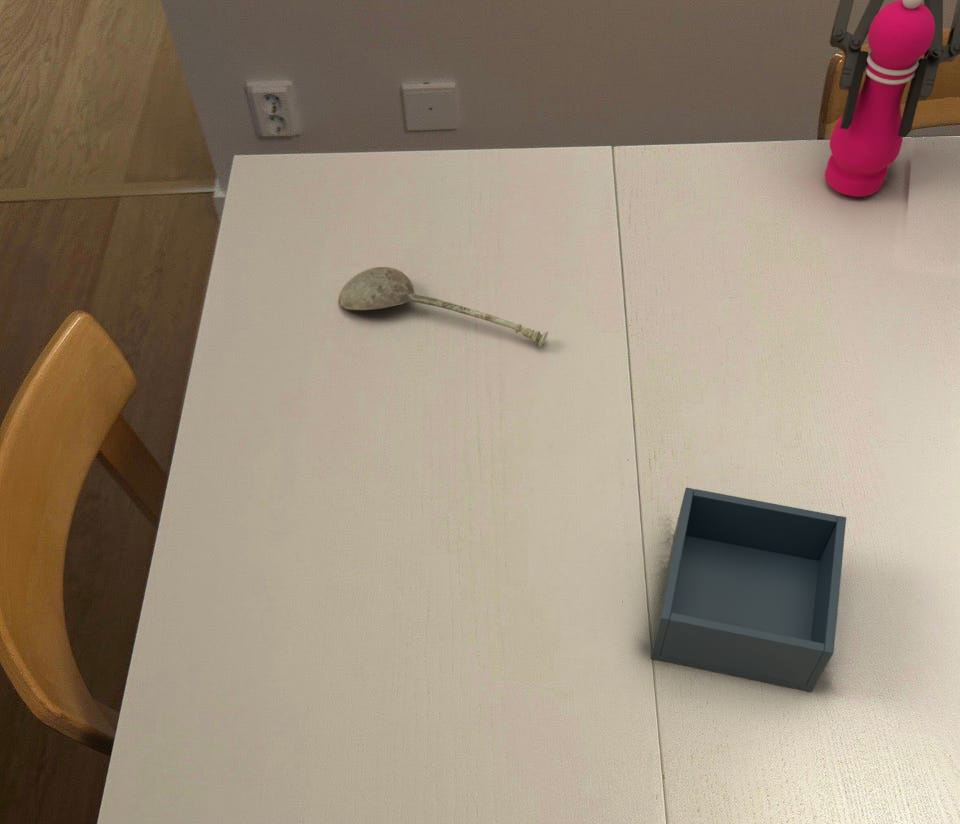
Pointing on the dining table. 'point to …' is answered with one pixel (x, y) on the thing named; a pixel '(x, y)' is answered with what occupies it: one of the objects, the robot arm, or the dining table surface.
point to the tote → (751, 590)
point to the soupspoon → (407, 298)
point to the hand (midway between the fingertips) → (874, 129)
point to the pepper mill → (880, 99)
